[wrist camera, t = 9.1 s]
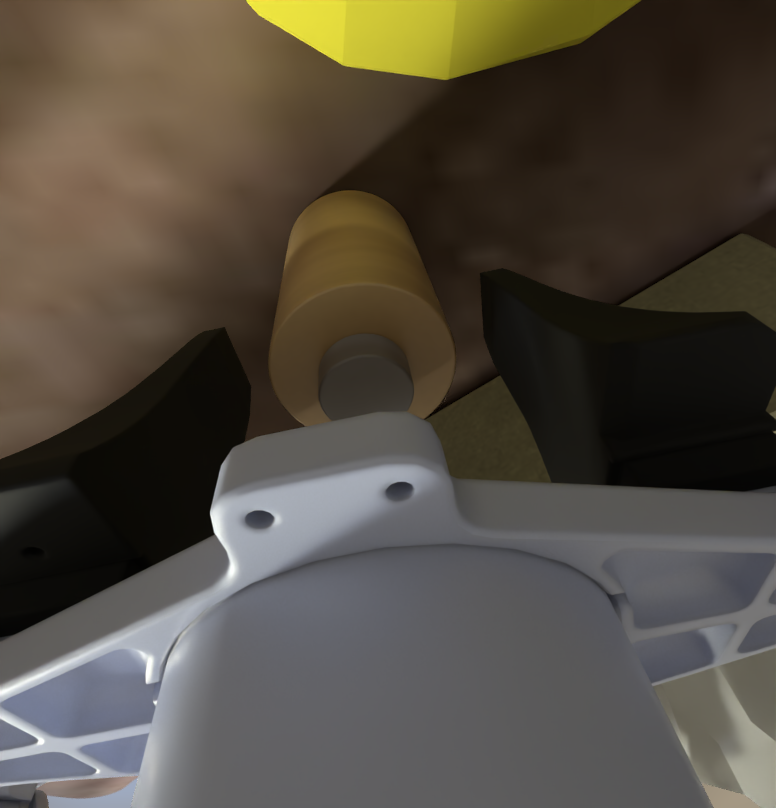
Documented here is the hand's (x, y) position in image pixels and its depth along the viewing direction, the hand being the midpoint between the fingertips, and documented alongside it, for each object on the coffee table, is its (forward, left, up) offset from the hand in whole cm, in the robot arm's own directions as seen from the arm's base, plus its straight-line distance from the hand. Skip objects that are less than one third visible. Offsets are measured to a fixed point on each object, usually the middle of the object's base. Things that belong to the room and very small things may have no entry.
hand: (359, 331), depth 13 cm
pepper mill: (0, 0, -5) cm, 5 cm away
